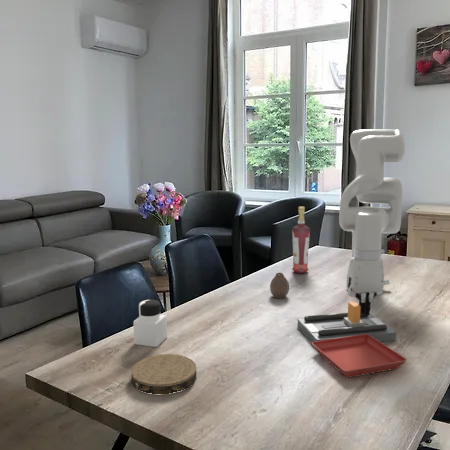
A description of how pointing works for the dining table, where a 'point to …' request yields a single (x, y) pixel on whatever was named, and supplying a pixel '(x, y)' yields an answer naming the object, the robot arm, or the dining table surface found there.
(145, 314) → the medicine bottle
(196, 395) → the dining table surface
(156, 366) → the round wood slice
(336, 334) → the switch panel
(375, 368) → the plant saucer
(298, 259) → the liquor
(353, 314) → the breaker lever
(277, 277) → the vase
